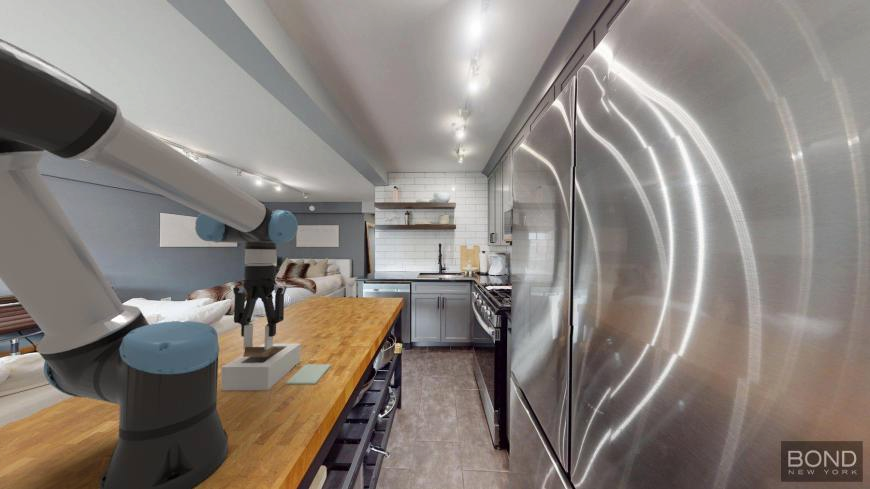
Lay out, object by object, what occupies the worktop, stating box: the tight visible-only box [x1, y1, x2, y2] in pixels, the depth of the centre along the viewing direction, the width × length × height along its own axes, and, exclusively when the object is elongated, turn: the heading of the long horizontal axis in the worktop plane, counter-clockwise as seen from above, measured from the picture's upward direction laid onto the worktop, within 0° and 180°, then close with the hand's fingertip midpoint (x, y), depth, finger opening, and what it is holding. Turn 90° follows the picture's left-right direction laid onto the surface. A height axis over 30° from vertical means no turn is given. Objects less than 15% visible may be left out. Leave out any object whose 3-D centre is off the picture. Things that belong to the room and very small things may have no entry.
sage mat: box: [285, 363, 332, 386], centre depth 81 cm, size 12×8×1 cm, turn 1°
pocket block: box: [220, 343, 302, 391], centre depth 80 cm, size 18×12×6 cm, turn 1°
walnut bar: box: [243, 346, 284, 357], centre depth 81 cm, size 12×5×2 cm, turn 2°
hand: (258, 347), depth 77 cm, fingers closed on walnut bar, 5 cm apart
